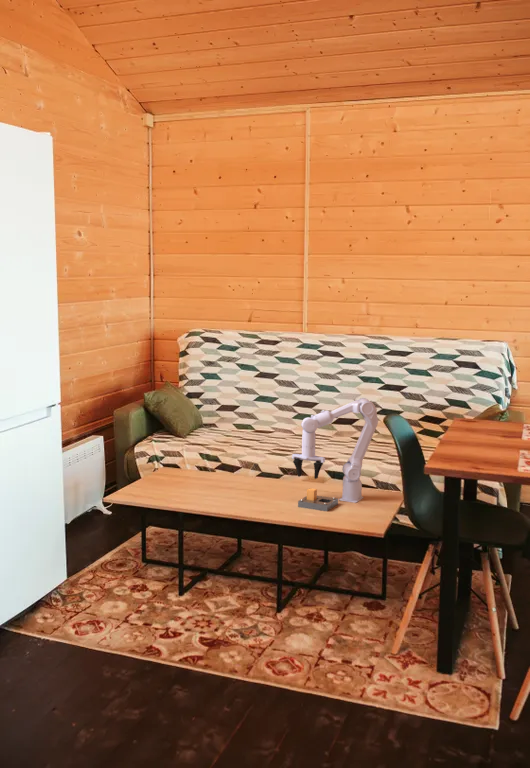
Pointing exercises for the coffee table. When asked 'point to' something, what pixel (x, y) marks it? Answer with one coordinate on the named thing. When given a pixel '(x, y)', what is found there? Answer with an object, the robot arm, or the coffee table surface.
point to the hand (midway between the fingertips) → (307, 477)
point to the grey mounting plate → (319, 503)
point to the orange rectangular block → (312, 494)
